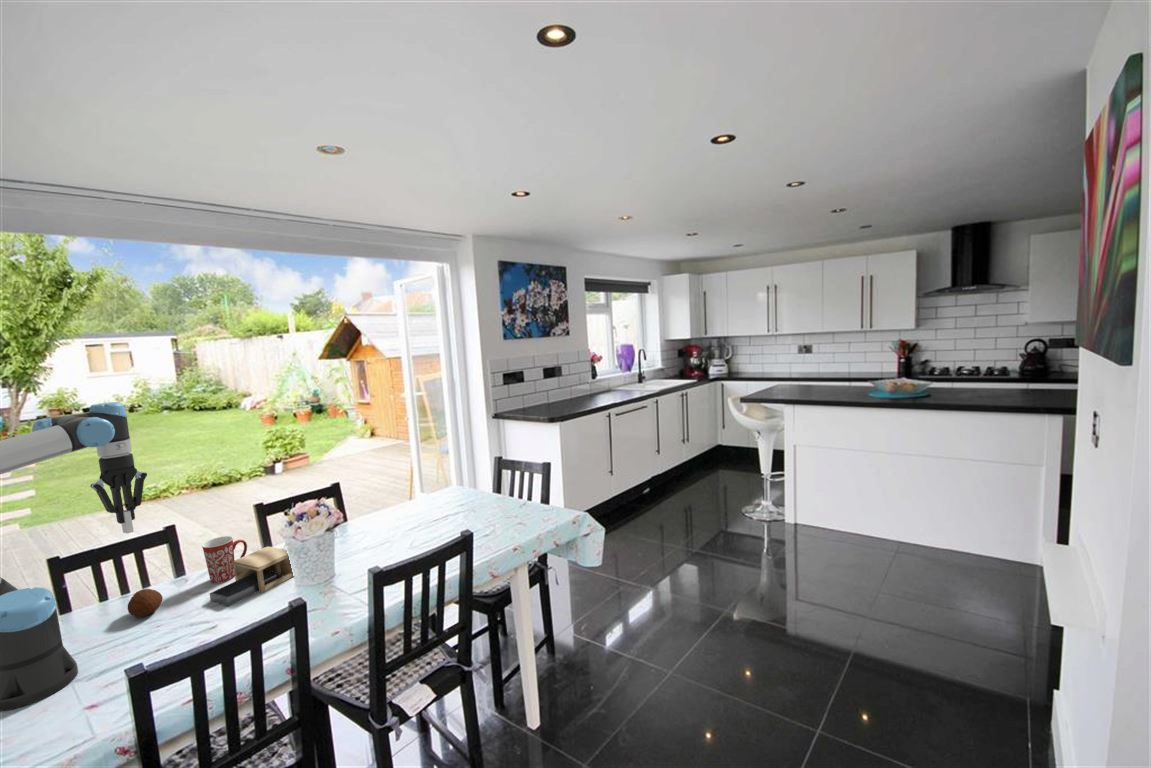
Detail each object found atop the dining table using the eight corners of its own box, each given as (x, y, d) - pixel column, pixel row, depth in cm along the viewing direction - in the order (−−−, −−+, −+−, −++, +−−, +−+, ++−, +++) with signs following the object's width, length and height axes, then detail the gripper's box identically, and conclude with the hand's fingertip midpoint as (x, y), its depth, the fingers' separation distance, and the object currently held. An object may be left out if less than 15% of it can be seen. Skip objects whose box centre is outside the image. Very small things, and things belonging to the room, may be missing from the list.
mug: (208, 588, 170) (202, 549, 168) (205, 578, 177) (200, 541, 175) (252, 574, 178) (247, 537, 176) (248, 566, 185) (243, 530, 183)
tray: (228, 608, 157) (226, 598, 157) (210, 602, 161) (209, 593, 161) (277, 583, 171) (276, 574, 171) (260, 578, 175) (259, 570, 175)
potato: (156, 601, 163) (153, 579, 162) (170, 610, 157) (167, 587, 156) (122, 615, 155) (118, 592, 155) (136, 625, 150) (132, 601, 149)
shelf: (261, 593, 164) (258, 567, 163) (236, 585, 170) (232, 561, 169) (295, 575, 175) (292, 551, 174) (270, 569, 181) (267, 546, 180)
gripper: (93, 461, 142) (107, 542, 144) (148, 450, 153) (160, 525, 156) (80, 460, 145) (94, 539, 148) (135, 448, 156) (147, 522, 159)
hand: (128, 532), depth 152 cm, fingers closed
